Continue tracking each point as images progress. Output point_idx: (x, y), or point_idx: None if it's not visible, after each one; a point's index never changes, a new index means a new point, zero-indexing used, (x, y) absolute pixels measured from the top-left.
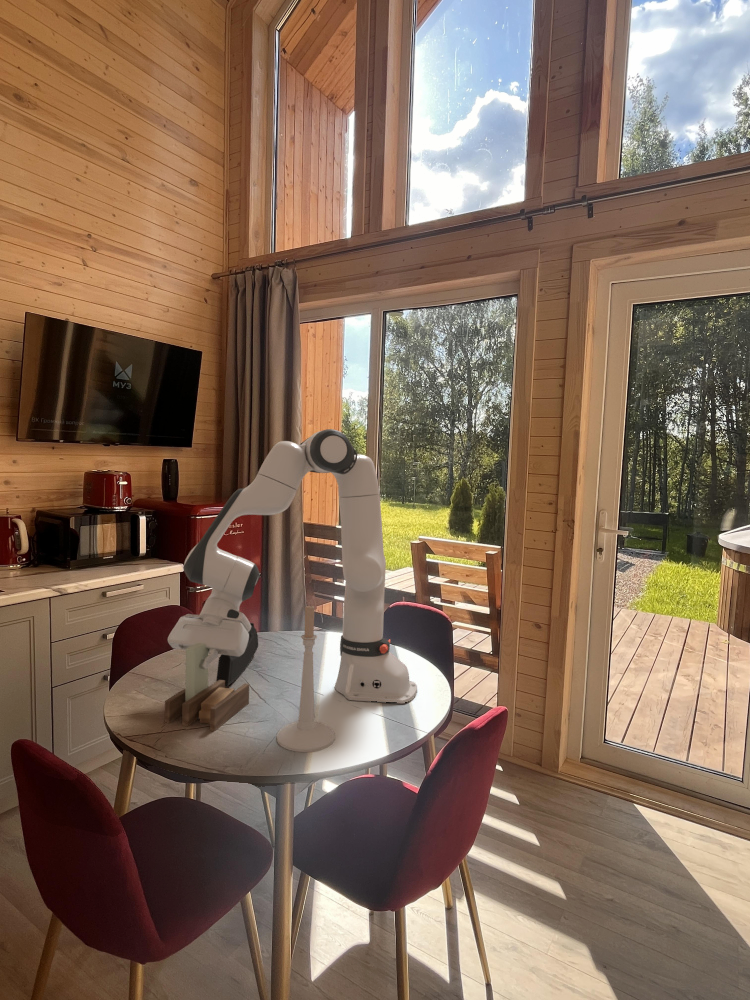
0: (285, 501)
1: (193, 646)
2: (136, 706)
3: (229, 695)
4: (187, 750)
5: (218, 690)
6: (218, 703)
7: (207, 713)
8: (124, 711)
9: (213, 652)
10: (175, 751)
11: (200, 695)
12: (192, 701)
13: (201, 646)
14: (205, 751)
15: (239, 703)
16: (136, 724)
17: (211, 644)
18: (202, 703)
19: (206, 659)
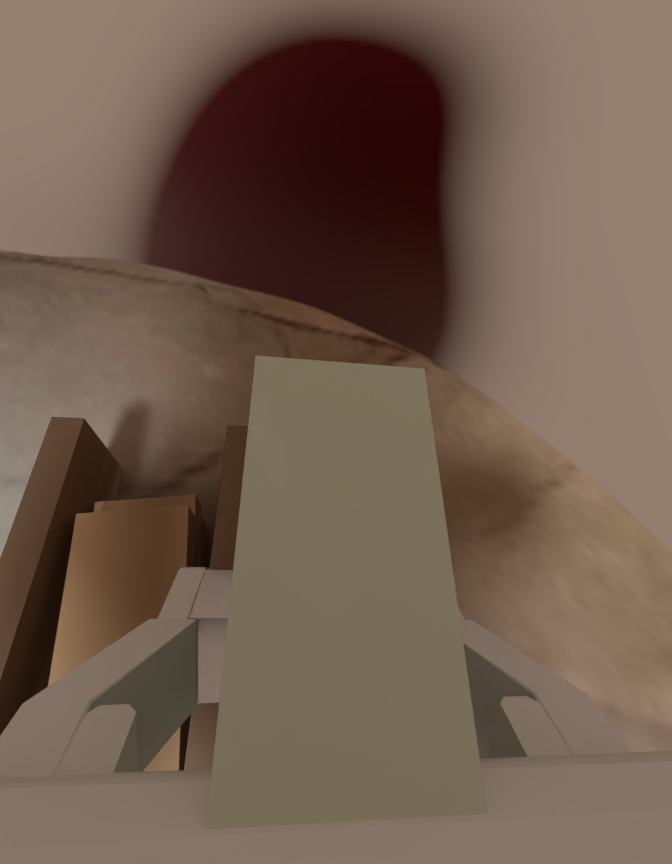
0: None
1: (386, 510)
2: (586, 579)
3: (4, 640)
4: (149, 325)
5: (156, 767)
6: (53, 488)
7: (145, 500)
8: (580, 516)
9: (15, 730)
10: (187, 314)
11: (224, 564)
12: (228, 468)
13: (233, 578)
14: (81, 331)
15: None
16: (442, 432)
17: (3, 844)
18: (179, 506)
19: (162, 618)
